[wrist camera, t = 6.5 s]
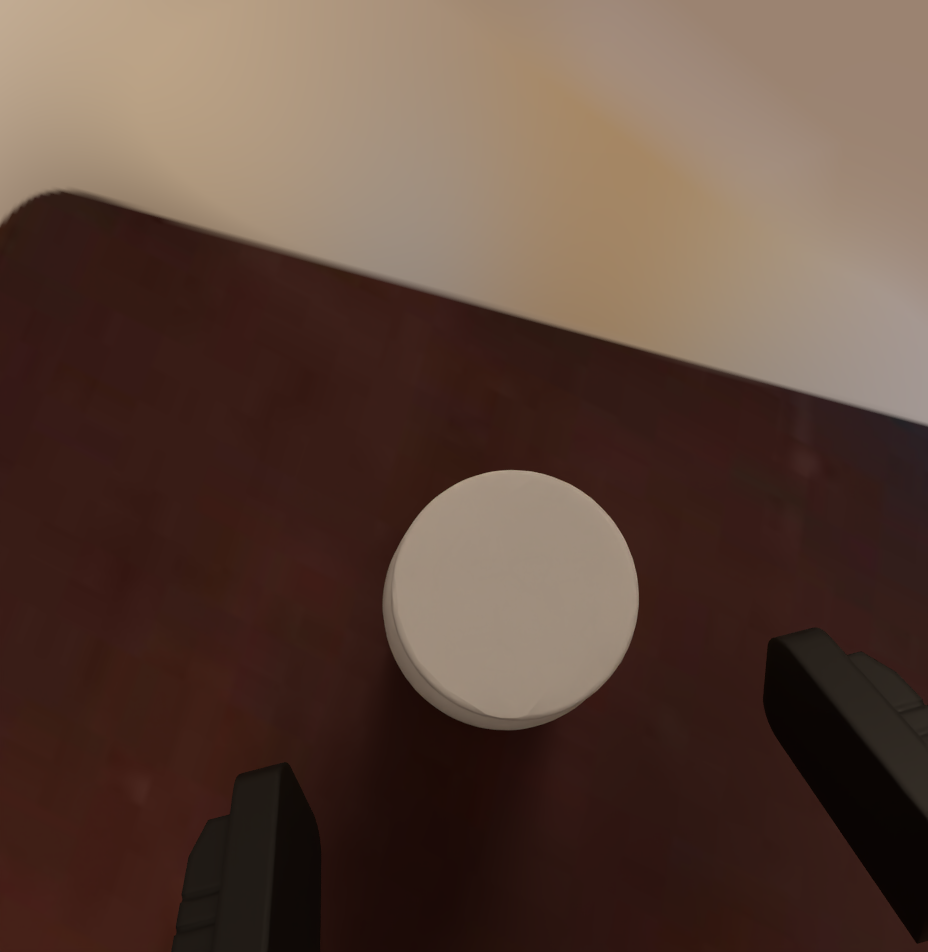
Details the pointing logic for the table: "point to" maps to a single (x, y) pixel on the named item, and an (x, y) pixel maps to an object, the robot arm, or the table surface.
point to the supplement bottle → (510, 600)
